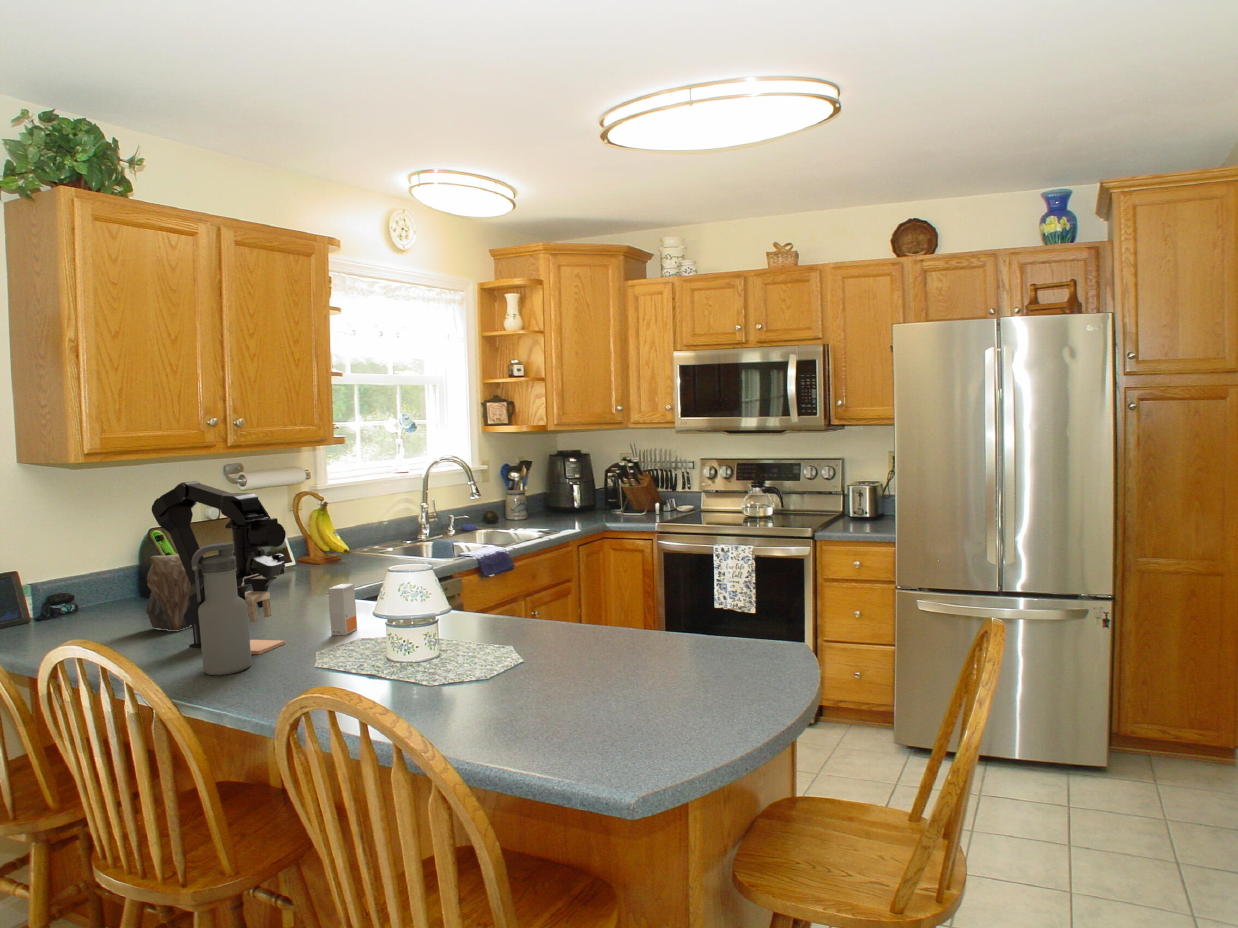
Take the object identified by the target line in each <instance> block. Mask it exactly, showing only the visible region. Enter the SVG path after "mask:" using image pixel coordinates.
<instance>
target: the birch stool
mask: <svg viewBox="0 0 1238 928" xmlns="http://www.w3.org/2000/svg"><path fill="white" fill-rule="evenodd" d="M262 600H263V607H262V610H263V611H262V612H263V617H264V618H269V617H271V616H272V607H271V596H270V591H267V592H266V591H253V590H249V591H245V602H246V605H247V615H248V617H249V618H248V619H249V623H255V622H258V613H257V612H258V611H257V602H259V601H262Z"/></svg>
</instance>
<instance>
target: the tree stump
mask: <svg viewBox="0 0 1238 928" xmlns="http://www.w3.org/2000/svg"><path fill="white" fill-rule="evenodd" d="M149 560H150V562H151V564H150V565H151V566H150V567H149V570H148V572H147V575H146V583H147V585H146V586H147V587H148V589H149V590H150V592H151V593H150V594H149V598H148V600H147V601H148V602H147V606H146V609H145V613H146V615H147V618H148V620H149V622H150V624H151V627H152V628H153V627H154V628H161V629H168V630H180V629H183V628H186V627H189V626H190V625H192V624H186V623H185V620H184V617H183V615H184V614H185V612H186V611H187V609H188V608H189V606H190V605H191V604H190V601H189V593H190V588H191V584H190V581H189V579H188V576H187V574H186V572H185V569H184V567H183V564H182V562H181V559H180V557H179V555H178V553H176V554H169V555H151V556H150V557H149Z"/></svg>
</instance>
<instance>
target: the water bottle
mask: <svg viewBox="0 0 1238 928" xmlns="http://www.w3.org/2000/svg"><path fill="white" fill-rule="evenodd" d="M199 548H200V549H198V550H197V551H196V552H195V554H194V555H193V557H192V569H193V570H194V571H195V581H196V592H197V601H198V602H201V596H200V585H199V576H198V570H199V569H201V571H203V572H202V574H203V579H204V589H205V601H204V602H203V603H202V604H201V605H200V607H199V609H198V614H199V625H200V636H201V647H200V648H201V655H202V656H201V657H202V665H203V666H202V667H203V672H204V673H205V674H206V675H210V676H225V675H232V674H236V673H240V672H243V671H245V670H247V669H248V668H250V667H251V666H252V654H251V649H250V640H251V639H250V638H251V637H250V628H249V627H250V626H249V618H248V612H247V604H246V602H245V600H244V599H242V598H240V597H239V596H238V593H237V582H236V570H237V568H236V557H235V556H234V554H233V552H234V549H233V548H234V543H233V541H231V542H222V543H213V544H207V545H203V546H202V547H199ZM216 551H218V554H216V555H210V556H207V557H204V559H202V560H201V563H200V564H198V560H199V559H200V557H201V556H202V555H203V556H204V555H205V554H208V553H211V552H216Z"/></svg>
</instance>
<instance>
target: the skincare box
mask: <svg viewBox="0 0 1238 928" xmlns="http://www.w3.org/2000/svg"><path fill="white" fill-rule="evenodd" d="M327 590H328V591H327V592H328V593H327V595H328V606H329V620H330V621H329V622H330V635H331V636H347V635H348V634H350V633H353V632H354V631H357V630H358V620H357V608H356V607H357V606H356V605H357V604H356V592H355V584H354V583H340V584H338V585H334V586H332V587H329V588H328V589H327Z"/></svg>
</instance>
